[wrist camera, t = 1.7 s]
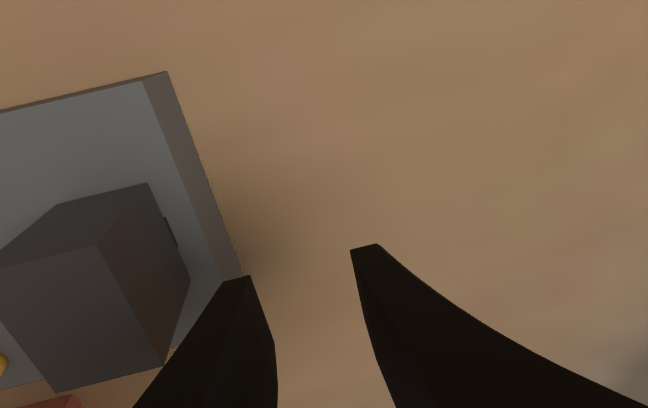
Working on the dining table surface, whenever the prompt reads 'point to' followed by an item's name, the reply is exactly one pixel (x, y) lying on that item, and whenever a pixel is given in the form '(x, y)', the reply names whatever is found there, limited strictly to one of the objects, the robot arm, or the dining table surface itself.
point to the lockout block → (57, 403)
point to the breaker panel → (111, 181)
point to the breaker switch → (94, 288)
